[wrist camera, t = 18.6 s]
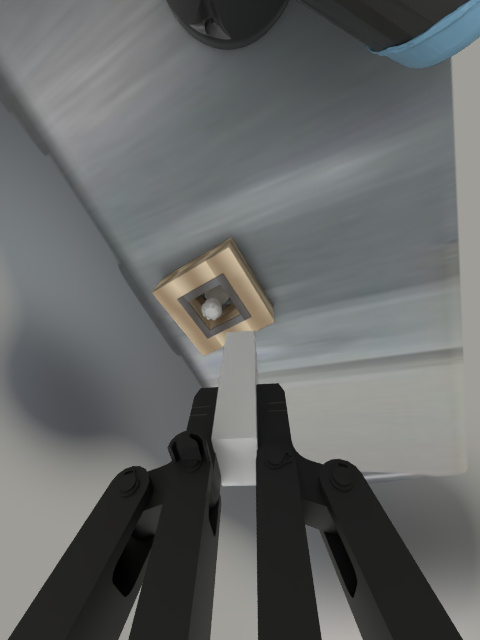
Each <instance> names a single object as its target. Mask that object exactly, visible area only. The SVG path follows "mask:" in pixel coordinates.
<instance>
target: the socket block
mask: <svg viewBox="0 0 480 640" xmlns="http://www.w3.org/2000/svg"><path fill="white" fill-rule="evenodd" d="M220 284H221V286H222V287H223V289H224V290H225V292H226V293H227V295H228V296H229V298H230V299H231V301H232V302H233V303H231V304H229V305H227V306H225V307H223V308H222V314H221V316H220V317H219V318H217V319H216V320H212V319H210V320H207V318H206V317H204V316H203V314H202V311H201V307H202V305H203V304H204V303H205V299H204V298H203V296H202V294H204V293H205V292H207V291H209V290H211V289H213V288H214V287H216V286H218V285H220ZM152 293H153V294H154V296H155V297H156V298H157V299H158V301H159V302H160V303H161V304H162V306H163V307H164V308H165V309H166V310H167V312H168V313H169V314H170V315H171V317H172V318H173V319H174V320H175V321H176V323H177V324H178V325H179V326H180V328H181V329H182V330H183V331H184V333H185V334H186V335H187V336H188V337H189V339H190V340H191V341H192V342H193V344H194V345H195V346H196V347H197V349H198V350H199V351H200V352H201V353H202V355H203V356H205V355H207V354H209V353H211V352H213V351H215V350H217V349H219V348H221V347H224V345H225V338H226V332H239V331H254V332H255V331H257V330H259V329H261V328H263V327H265V326H267V325H270V324H272V323H274V322H275V318H274V312H273V306H272V304H271V303H270V301H269V299H268V298H267V296H266V294H265V293H264V291H263V289H262V288H261V286H260V284H259V283H258V281H257V279H256V278H255V276H254V274H253V273H252V271H251V269H250V268H249V266H248V264H247V263H246V261H245V259H244V258H243V256H242V254H241V253H240V251H239V249H238V248H237V246H236V244H235V243H234V241H233V239H232V238H229V239H228V240H226V241H224V242H223V243H221V244H219V245H218V246H216V247H214V248H213V249H211V250H209V251H207V252H206V253H204V254H202V255H201V256H199V257H197V258H196V259H194V260H192V261H191V262H189V263H187V264H186V265H184V266H182V267H181V268H179V269H177V270H176V271H174V272H172V273H171V274H169V275H167V276H166V277H164V278H163V279H162V280H161V281H160V283H159V284H158V285H157V287H156V288H155V290H154V291H153V292H152Z"/></svg>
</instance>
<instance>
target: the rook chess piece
mask: <svg viewBox="0 0 480 640" xmlns="http://www.w3.org/2000/svg"><path fill="white" fill-rule="evenodd" d="M205 297H206V299H207V300H206V301H205V303H204V304H203V305H202V307H201V311H202V314H203V316H204V317H206V318H207V320H210V319H212V320H216V319H217V318H219V317H220V316H221V314H222V304H225V303H226V302H227V301H228V299H229V296H228V295H227V293H226V292H225V290H224V289H223V287H222V286H221V284H220V285H218V286H216V287H214V288H213V289H211V290H209V291H207V292H205Z"/></svg>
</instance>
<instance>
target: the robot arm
mask: <svg viewBox="0 0 480 640" xmlns="http://www.w3.org/2000/svg"><path fill="white" fill-rule="evenodd" d="M166 1H167V3H168V5H169V7H170V8H171V10H172V12H173V13H174V15H175V17H176V18H177V19H178V21H179V22H180V23H181V25H182V26H183V27H184V28H185V29H186V30H187V31H188V32H189V33H190V34H191V35H192V36H194V37H195V38H196V39H198V40H199V41H201V42H203V43H204V44H207V45H209V46H212V47H215V48H219V49H236V48H241V47H244V46H247V45H249V44H251V43H253V42H255V41H256V40H258V39H259V38H260V37H262V36H263V35H264V34H265V33H266V32H267V31H268V30H269V29H270V28H271V27H272V26H273V25H274V24H275V22H276V21H277V20H278V18H279V17H280V15H281V14H282V12H283V10H284V8H285V7H286V5H287V3H288V0H166ZM297 1H298V2H300V3H301V4H303V5H304V6H306V7H308V8H309V9H311V10H312V11H314V12H315V13H317V14H319V15H320V16H322V17H323V18H325V19H326V20H328V21H330V22H331V23H333V24H334V25H336V26H337V27H339V28H341V29H342V30H344V31H345V32H347V33H348V34H350V35H352V36H353V37H355V38H356V39H358V40H359V41H361V42H363V43H364V44H365V46H366V48H367V49H368V50H369V51H370V52H371V53H373V54H378V55H379V56H386V57H388V58H390V59H392V60H394V61H396V62H397V63H399V64H401V65H403V66H405V67H408V68H417V69H420V68H427V67H430V66H433V65H436V64H438V63H440V62H442V61H444V60H446V59H448V58H450V57H452V56H453V55H455V54H457V53H458V52H460V51H461V50H463V49H464V48H465V47H467V46H468V45H470V44H471V43H472V42H473V41H475V40H476V39H477V38H479V37H480V0H297ZM168 451H169V453H170V456H171V459H172V461H171V462H170V463H169V464H167V465H165V466H162V467H160V468H157V469H154V470H151V471H148V472H147V471H146V469H144V468H142V467H140V466H132V467H130V468H126V469H124V470H123V471H122V472H120V473H119V474H118V475H117V476H116V477H115V478H114V479H113V480H112V482H111V483H110V485H109V486H108V488H107V489H106V491H105V492H104V494H103V495H102V497H101V498H100V500H99V501H98V503H97V505H96V506H95V508H94V509H93V511H92V512H91V514H90V515H89V517H88V518H87V520H86V521H85V523H84V524H83V526H82V528H81V529H80V530H79V532H78V533H77V535H76V537H75V538H74V540H73V541H72V543H71V544H70V546H69V547H68V549H67V550H66V552H65V553H64V555H63V556H62V558H61V559H60V561H59V563H58V564H57V565H56V567H55V569H54V570H53V572H52V573H51V575H50V576H49V578H48V579H47V581H46V582H45V584H44V585H43V587H42V588H41V590H40V591H39V593H38V594H37V596H36V597H35V599H34V600H33V602H32V604H31V605H30V607H29V608H28V610H27V611H26V613H25V614H24V616H23V617H22V619H21V620H20V622H19V623H18V625H17V626H16V628H15V630H14V631H13V633H12V634H11V636H10V637H9V639H8V640H118V639H119V636H120V634H121V632H122V630H123V627H124V625H125V623H126V620H127V618H128V616H129V613H130V611H131V609H132V607H133V604H134V602H135V599H136V597H137V595H138V593H139V590H140V588H141V586H142V588H141V592H140V596H139V600H138V604H137V608H136V612H135V616H134V620H133V624H132V628H131V632H130V636H129V640H210V633H211V621H212V609H213V597H214V585H215V573H216V560H217V549H218V537H219V524H220V512H221V496H220V483H222V486H244V485H256V507H257V508H256V513H257V514H256V515H257V516H256V517H257V591H258V640H322V639H321V632H320V625H319V619H318V612H317V605H316V598H315V591H314V584H313V577H312V570H311V563H310V556H309V549H308V542H307V536H306V529H305V524H306V525H308V526H311V527H314V528H317V529H319V530H320V533H321V535H322V538H323V540H324V543H325V545H326V548H327V550H328V553H329V555H330V558H331V560H332V563H333V565H334V568H335V571H336V573H337V576H338V578H339V580H340V583H341V585H342V588H343V591H344V593H345V596H346V598H347V601H348V603H349V606H350V608H351V611H352V613H353V616H354V618H355V621H356V623H357V626H358V628H359V631H360V633H361V636H362V638H363V640H463V639H462V637H461V636H460V634H459V632H458V631H457V629H456V627H455V626H454V624H453V623H452V621H451V619H450V618H449V616H448V614H447V613H446V611H445V610H444V608H443V606H442V604H441V603H440V601H439V600H438V598H437V596H436V595H435V593H434V591H433V590H432V588H431V586H430V585H429V583H428V582H427V580H426V578H425V577H424V575H423V573H422V572H421V570H420V569H419V567H418V565H417V563H416V562H415V560H414V559H413V557H412V555H411V554H410V552H409V550H408V549H407V547H406V546H405V544H404V542H403V541H402V539H401V537H400V536H399V534H398V533H397V531H396V529H395V527H394V526H393V524H392V522H391V521H390V519H389V518H388V516H387V514H386V513H385V511H384V510H383V508H382V506H381V504H380V503H379V501H378V500H377V498H376V496H375V495H374V493H373V491H372V490H371V488H370V486H369V485H368V483H367V481H366V480H365V478H364V477H363V475H362V473H361V472H360V471H359V470H358V469H357V467H356V466H354V465H353V464H351V463H350V462H348V461H345V460H341V459H333V460H330V461H328V462H326V463H324V465H323V464H320V463H316V462H313V461H310V460H307V459H305V458H304V457H302V456H301V455H299V454H298V452H297V451H296V450H295V449H294V447H293V444H292V441H291V434H290V427H289V420H288V413H287V406H286V399H285V392H284V390H283V389H282V388H281V386H280V385H279V383H276V384H258V366H257V355H256V344H255V333H254V331H239V332H226V338H225V345H224V352H223V360H222V367H221V374H220V381H219V387H214V388H201V389H200V390H199V391H198V393H197V394H196V395H195V397H194V401H193V405H192V410H191V414H190V418H189V422H188V426H187V430H186V431H184V432H182V433H180V434H178V435H177V436H175V437H174V438H173V439H172V440H171V442H170V444H169V446H168ZM142 583H143V584H142Z"/></svg>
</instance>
